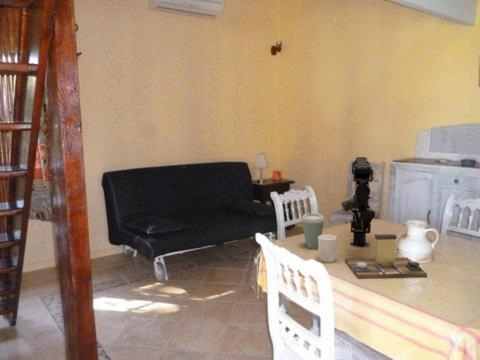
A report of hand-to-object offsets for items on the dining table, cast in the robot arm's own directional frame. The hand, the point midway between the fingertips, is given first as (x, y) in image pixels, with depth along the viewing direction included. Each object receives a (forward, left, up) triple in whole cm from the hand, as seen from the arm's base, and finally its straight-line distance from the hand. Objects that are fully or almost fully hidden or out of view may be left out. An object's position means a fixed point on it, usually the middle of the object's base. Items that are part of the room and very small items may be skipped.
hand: (361, 228), depth 174 cm
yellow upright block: (+10, +16, -10) cm, 21 cm away
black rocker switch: (+5, +25, -9) cm, 27 cm away
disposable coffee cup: (+4, -23, -12) cm, 26 cm away
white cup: (+15, -8, -12) cm, 21 cm away
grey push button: (+19, +11, -9) cm, 24 cm away
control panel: (+9, +15, -12) cm, 21 cm away
